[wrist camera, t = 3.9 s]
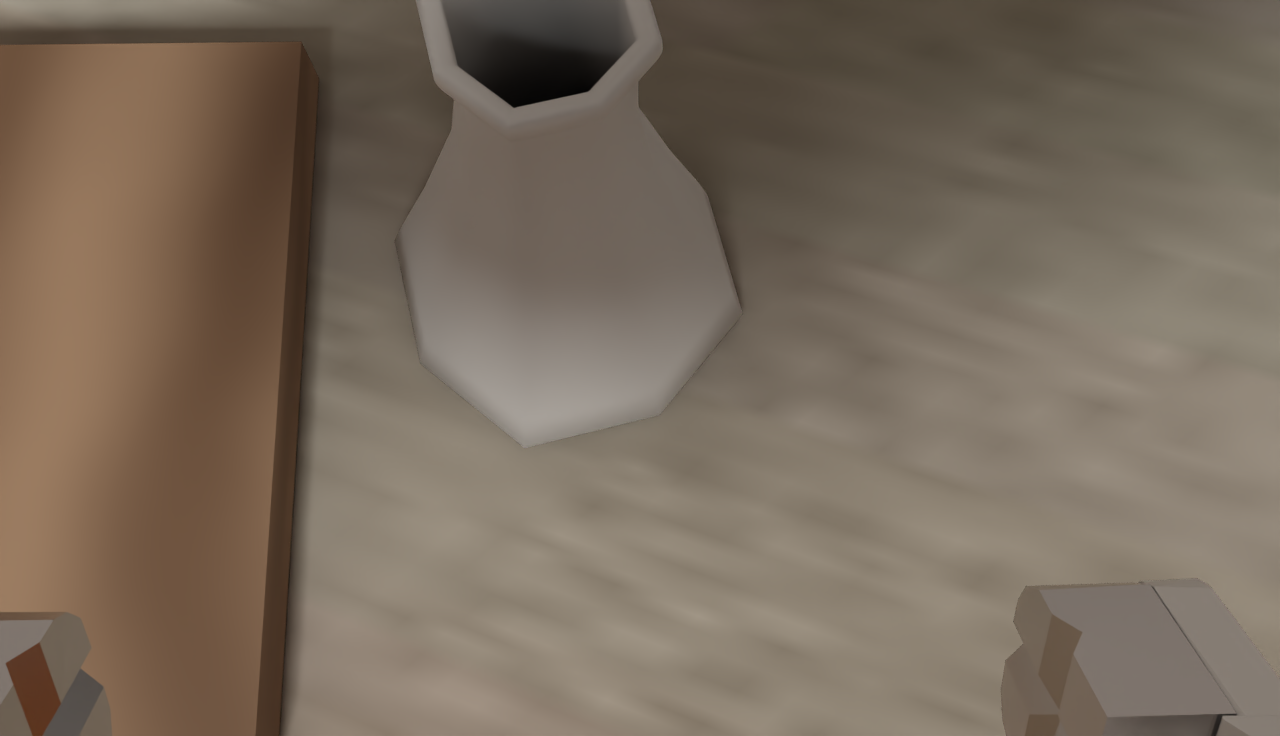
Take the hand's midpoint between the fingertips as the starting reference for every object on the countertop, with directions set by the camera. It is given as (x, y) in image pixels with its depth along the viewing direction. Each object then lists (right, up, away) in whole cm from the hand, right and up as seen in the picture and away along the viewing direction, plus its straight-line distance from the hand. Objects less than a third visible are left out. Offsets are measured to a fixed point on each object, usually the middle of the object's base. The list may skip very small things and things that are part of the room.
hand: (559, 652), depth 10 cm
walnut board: (-13, +2, +14) cm, 19 cm away
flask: (-1, +4, +15) cm, 15 cm away
